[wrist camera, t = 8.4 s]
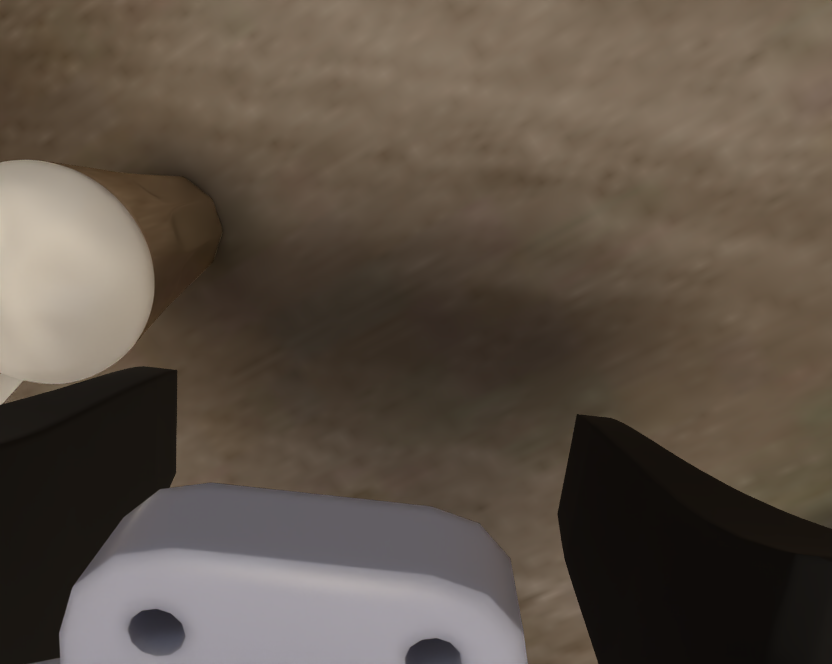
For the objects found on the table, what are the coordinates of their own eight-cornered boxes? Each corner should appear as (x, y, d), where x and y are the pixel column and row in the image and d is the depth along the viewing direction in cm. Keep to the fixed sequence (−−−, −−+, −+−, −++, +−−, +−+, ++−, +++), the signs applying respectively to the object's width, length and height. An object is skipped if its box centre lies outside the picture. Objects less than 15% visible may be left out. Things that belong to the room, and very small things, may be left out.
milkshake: (73, 293, 23) (-177, 407, 13) (117, 128, 22) (-126, 122, 12) (212, 343, 23) (66, 488, 14) (263, 184, 22) (142, 221, 12)
